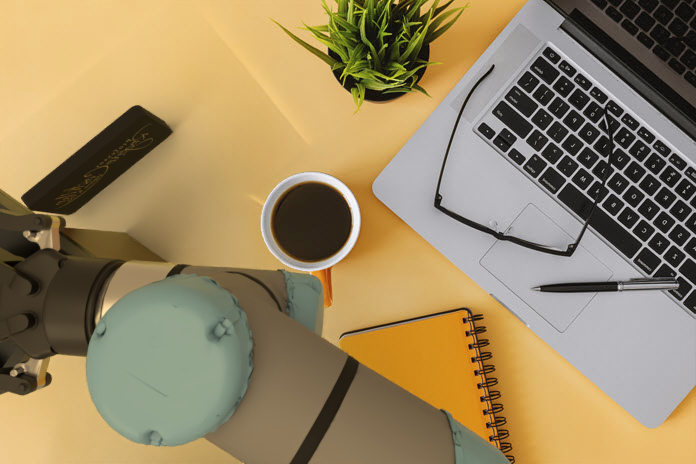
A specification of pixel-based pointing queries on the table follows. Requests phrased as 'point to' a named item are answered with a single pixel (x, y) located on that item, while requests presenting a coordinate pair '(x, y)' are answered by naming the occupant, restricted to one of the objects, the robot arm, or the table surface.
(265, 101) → the table surface
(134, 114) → the nameplate
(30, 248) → the tray
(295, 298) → the robot arm
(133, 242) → the stand
